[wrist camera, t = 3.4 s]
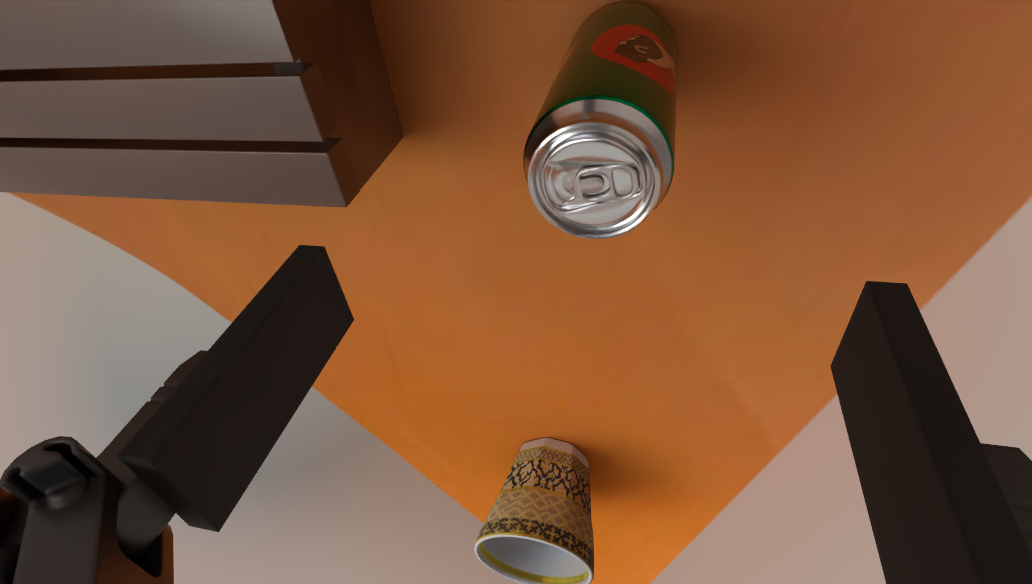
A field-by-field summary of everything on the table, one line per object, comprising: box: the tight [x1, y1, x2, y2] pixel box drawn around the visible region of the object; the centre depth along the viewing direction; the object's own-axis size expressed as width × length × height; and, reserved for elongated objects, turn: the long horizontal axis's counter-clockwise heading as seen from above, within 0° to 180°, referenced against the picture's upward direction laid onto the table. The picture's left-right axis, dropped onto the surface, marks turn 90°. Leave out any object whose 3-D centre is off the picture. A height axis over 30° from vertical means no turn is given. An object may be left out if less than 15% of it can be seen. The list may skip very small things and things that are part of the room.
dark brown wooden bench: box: [0, 0, 403, 207], centre depth 26 cm, size 14×26×12 cm, turn 95°
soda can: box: [523, 2, 678, 239], centre depth 22 cm, size 5×5×12 cm
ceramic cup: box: [474, 438, 594, 584], centre depth 49 cm, size 13×10×10 cm
